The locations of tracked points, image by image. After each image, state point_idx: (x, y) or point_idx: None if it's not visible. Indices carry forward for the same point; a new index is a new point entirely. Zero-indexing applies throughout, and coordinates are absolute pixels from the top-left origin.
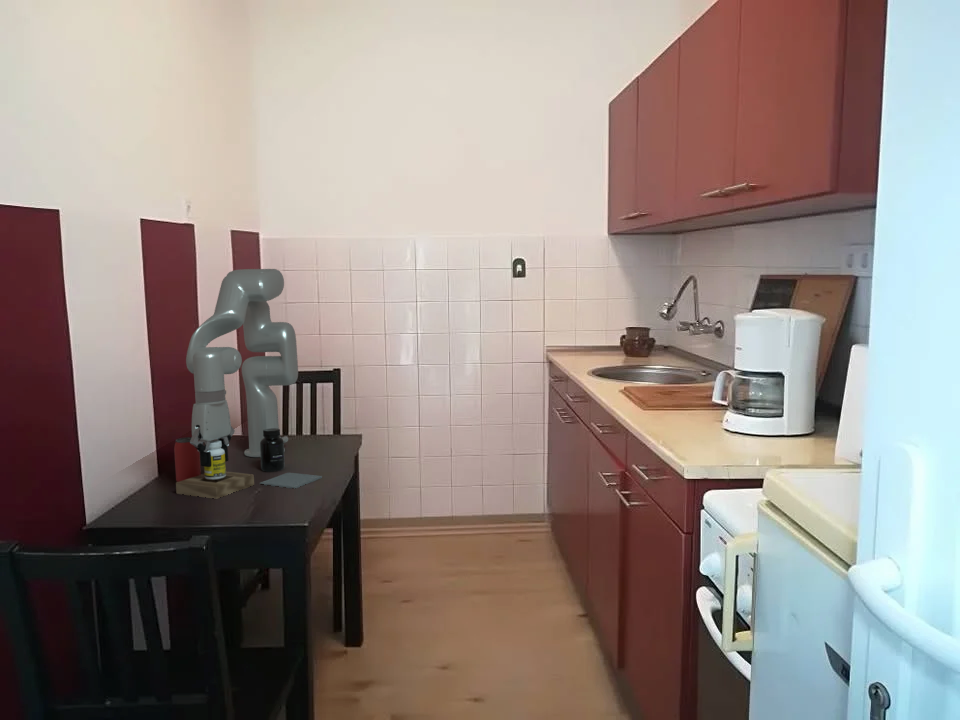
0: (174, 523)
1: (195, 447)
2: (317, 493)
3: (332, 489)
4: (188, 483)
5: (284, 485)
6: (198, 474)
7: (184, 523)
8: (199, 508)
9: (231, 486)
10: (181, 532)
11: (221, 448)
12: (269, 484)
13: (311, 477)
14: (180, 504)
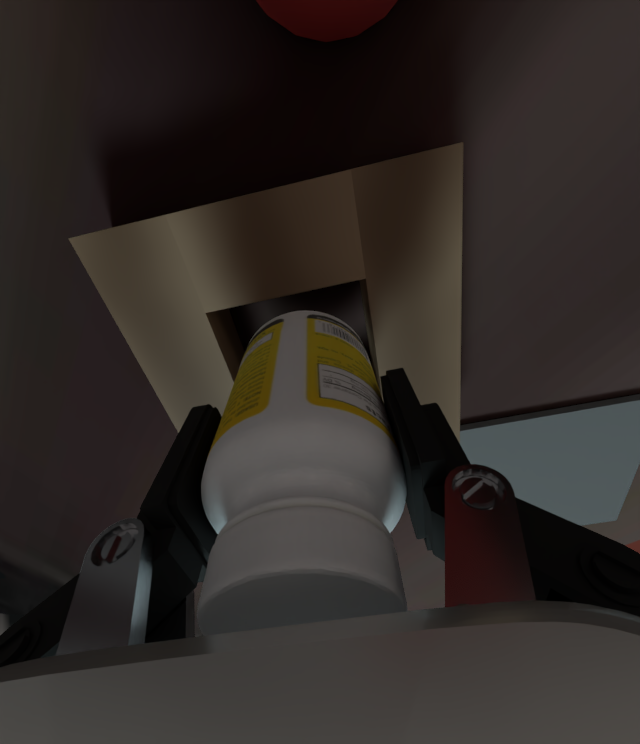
0: (19, 543)
1: (20, 623)
2: (441, 591)
3: None
4: (136, 333)
5: None
6: (369, 13)
7: (47, 557)
8: (129, 492)
9: None
10: (26, 592)
11: (410, 500)
12: None
13: (590, 509)
14: (81, 409)
